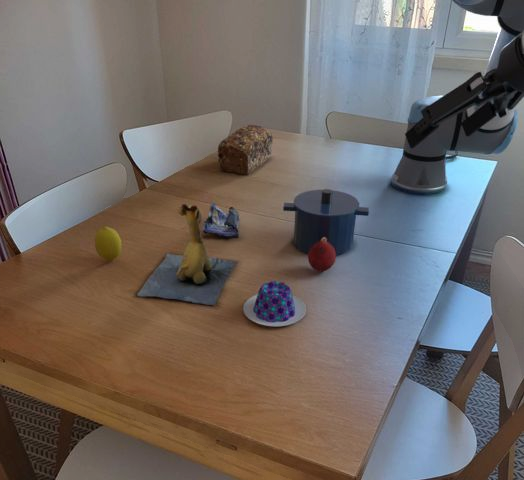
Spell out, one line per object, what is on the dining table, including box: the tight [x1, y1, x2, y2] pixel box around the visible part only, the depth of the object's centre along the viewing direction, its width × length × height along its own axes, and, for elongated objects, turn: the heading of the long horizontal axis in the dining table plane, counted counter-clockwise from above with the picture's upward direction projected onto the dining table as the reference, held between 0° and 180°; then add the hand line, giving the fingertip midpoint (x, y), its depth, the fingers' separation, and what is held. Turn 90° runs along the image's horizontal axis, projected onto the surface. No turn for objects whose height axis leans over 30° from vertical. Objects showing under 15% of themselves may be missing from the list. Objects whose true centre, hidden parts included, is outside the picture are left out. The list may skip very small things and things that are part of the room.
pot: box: [282, 202, 370, 256], centre depth 125 cm, size 14×19×10 cm
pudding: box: [242, 280, 307, 327], centre depth 103 cm, size 12×12×5 cm
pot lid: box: [293, 188, 360, 218], centre depth 122 cm, size 15×15×4 cm
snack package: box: [202, 202, 241, 240], centre depth 132 cm, size 12×6×12 cm
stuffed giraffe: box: [136, 203, 238, 306], centre depth 110 cm, size 16×18×16 cm
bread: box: [217, 124, 274, 176], centre depth 167 cm, size 19×11×10 cm, turn 155°
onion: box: [307, 237, 337, 273], centre depth 115 cm, size 6×6×8 cm
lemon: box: [94, 226, 122, 262], centre depth 118 cm, size 6×6×8 cm
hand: (437, 135), depth 96 cm, fingers open, 13 cm apart
